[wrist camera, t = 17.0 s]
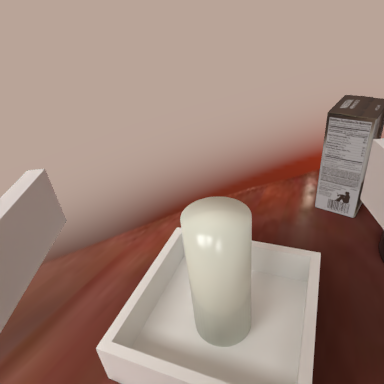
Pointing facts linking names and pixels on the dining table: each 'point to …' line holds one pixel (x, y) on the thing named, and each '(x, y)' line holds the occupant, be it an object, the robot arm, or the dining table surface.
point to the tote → (196, 346)
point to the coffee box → (348, 152)
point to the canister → (219, 267)
